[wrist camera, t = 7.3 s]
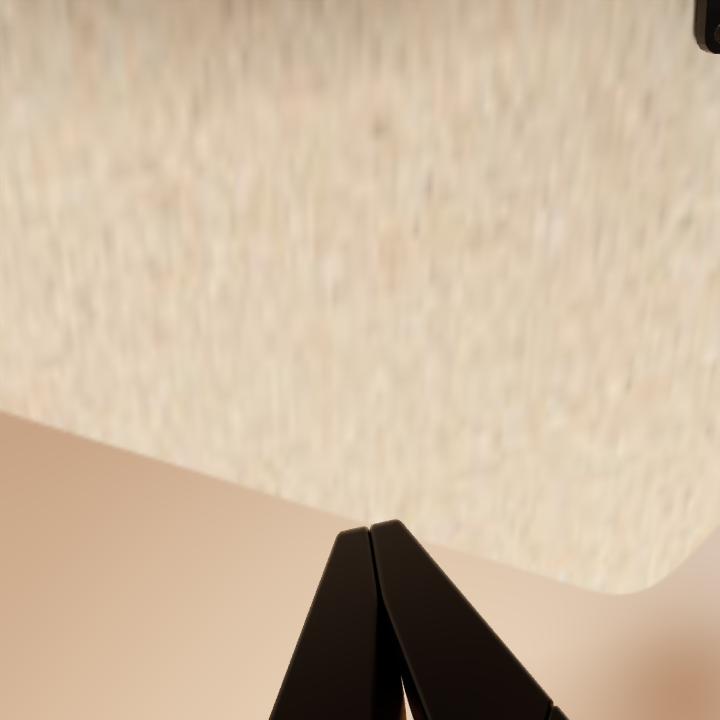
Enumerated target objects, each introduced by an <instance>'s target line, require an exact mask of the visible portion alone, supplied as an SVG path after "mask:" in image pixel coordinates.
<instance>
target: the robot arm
mask: <svg viewBox="0 0 720 720" xmlns="http://www.w3.org/2000/svg"><path fill="white" fill-rule="evenodd" d="M719 24H720V0H698V12H697V29H696V39H697V44H698V46H699V47H700V49H702V50H703V51H705V52H708V53H713V54H720V39H719V40H718V41H715V39H714V33H715V29H716V28H717V27H718V25H719ZM401 678H402V679H401ZM402 681H403V685H404V689H405V693H406V696H407V700H408V703H409V706H410V709H411V713H412V716H413V719H414V720H569V719H568V718H567V716H566V715H565V714H564V713H563V712H562V711H561V709H560V708H559V707H558V706H554V705H553V701H552V699H551V698H550V697H549V696H548V695H547V693H546V692H545V691H544V690H543V689H542V687H541V686H540V685H539V684H538V683H537V682H536V680H535V679H534V678H533V677H532V676H531V674H530V673H529V672H528V671H527V670H526V668H525V667H524V666H523V665H522V664H521V663H520V661H519V660H518V659H517V658H516V657H515V655H514V654H513V653H512V652H511V651H510V650H509V648H508V647H507V646H506V645H505V644H504V642H503V641H502V640H501V639H500V638H499V636H498V635H497V634H496V633H495V632H494V631H493V629H492V628H491V627H490V626H489V625H488V623H487V622H486V621H485V620H484V619H483V618H482V616H481V615H480V614H479V613H478V612H477V611H476V610H475V608H474V607H473V606H472V605H471V603H470V602H469V601H468V600H467V599H466V597H465V596H464V595H463V594H462V593H461V591H460V590H459V589H458V588H457V587H456V586H455V584H454V583H453V582H452V581H451V580H450V579H449V577H448V576H447V575H446V574H445V573H444V572H443V570H442V569H441V568H440V567H439V565H438V564H437V563H436V562H435V561H434V560H433V558H432V557H431V556H430V555H429V554H428V552H426V550H425V549H424V548H423V547H422V545H421V544H420V543H419V542H418V541H417V539H416V538H415V537H414V536H413V535H412V534H411V532H410V531H409V530H408V529H407V528H406V526H405V525H404V524H403V523H402V522H401V521H400V520H397V519H394V520H390V521H386V522H381V523H377V524H373V525H372V526H371V527H370V531H369V529H368V528H367V527H359V528H355V529H350V530H346V531H342V532H340V533H339V534H338V535H337V537H336V540H335V542H334V545H333V548H332V550H331V553H330V556H329V558H328V561H327V564H326V566H325V569H324V572H323V575H322V577H321V580H320V583H319V586H318V588H317V591H316V594H315V596H314V599H313V602H312V605H311V607H310V610H309V612H308V615H307V618H306V620H305V623H304V626H303V629H302V631H301V634H300V637H299V639H298V642H297V645H296V648H295V650H294V653H293V655H292V658H291V661H290V664H289V666H288V669H287V672H286V674H285V677H284V680H283V683H282V685H281V688H280V691H279V693H278V696H277V699H276V702H275V704H274V707H273V710H272V712H271V715H270V717H269V720H406V709H405V700H404V691H403V685H402Z"/></svg>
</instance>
